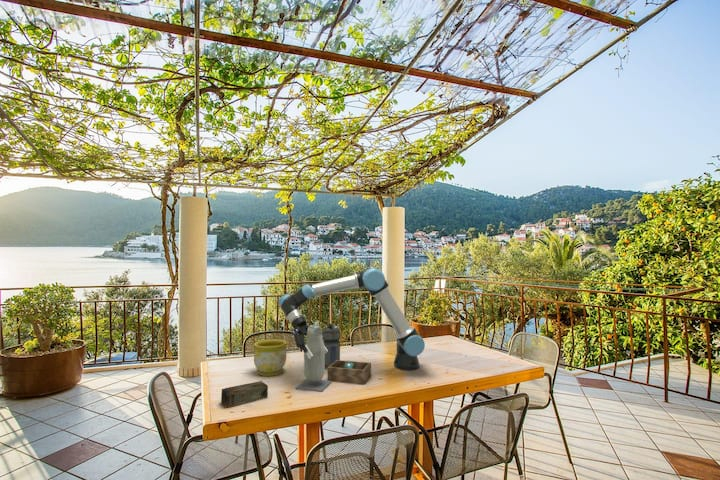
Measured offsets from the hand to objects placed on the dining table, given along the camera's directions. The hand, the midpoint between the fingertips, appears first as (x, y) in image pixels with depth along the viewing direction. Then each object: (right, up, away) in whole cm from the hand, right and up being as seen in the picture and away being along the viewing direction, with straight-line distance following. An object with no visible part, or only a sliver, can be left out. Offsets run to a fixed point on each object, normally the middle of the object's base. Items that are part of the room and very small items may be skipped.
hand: (318, 354), depth 175 cm
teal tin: (+15, -15, +14) cm, 25 cm away
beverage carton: (-31, -15, -18) cm, 39 cm away
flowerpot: (-30, -17, +21) cm, 40 cm away
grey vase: (-2, -14, +1) cm, 14 cm away
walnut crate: (+15, -16, +11) cm, 25 cm away
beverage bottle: (+3, -18, +32) cm, 37 cm away
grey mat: (-2, -16, +1) cm, 16 cm away
